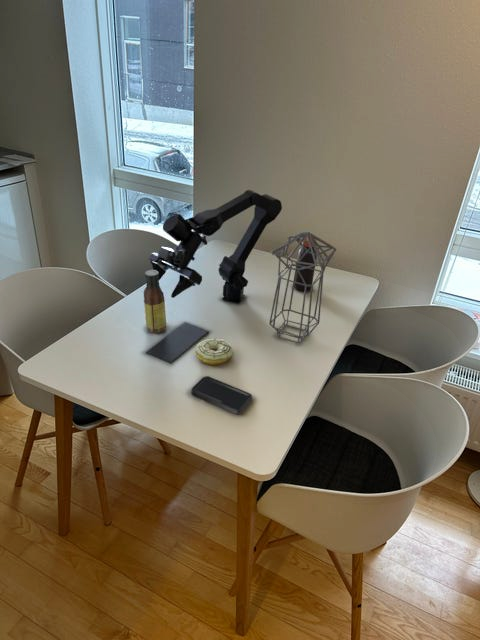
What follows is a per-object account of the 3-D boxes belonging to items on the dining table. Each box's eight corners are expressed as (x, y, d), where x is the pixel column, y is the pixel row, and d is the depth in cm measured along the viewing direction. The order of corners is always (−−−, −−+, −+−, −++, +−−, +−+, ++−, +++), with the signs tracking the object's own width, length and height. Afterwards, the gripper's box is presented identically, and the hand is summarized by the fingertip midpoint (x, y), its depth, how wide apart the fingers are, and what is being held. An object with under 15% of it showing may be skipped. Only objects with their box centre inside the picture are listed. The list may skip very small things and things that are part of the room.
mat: (185, 323, 155) (185, 322, 155) (208, 331, 151) (208, 330, 151) (145, 353, 140) (145, 351, 140) (170, 363, 136) (170, 362, 136)
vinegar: (314, 287, 182) (322, 238, 171) (306, 294, 177) (314, 244, 166) (298, 282, 185) (305, 233, 174) (290, 288, 180) (297, 239, 169)
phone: (205, 375, 131) (253, 394, 125) (205, 378, 132) (253, 398, 126) (189, 390, 125) (239, 412, 119) (189, 394, 126) (238, 415, 120)
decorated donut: (239, 356, 141) (240, 346, 139) (213, 372, 134) (214, 361, 132) (214, 341, 147) (215, 331, 145) (188, 355, 140) (189, 345, 138)
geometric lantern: (323, 331, 156) (341, 230, 137) (305, 355, 144) (323, 248, 125) (279, 317, 162) (291, 218, 143) (259, 339, 150) (269, 234, 131)
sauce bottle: (168, 324, 154) (167, 269, 143) (163, 335, 148) (162, 278, 138) (148, 322, 154) (145, 266, 143) (143, 332, 149) (139, 276, 138)
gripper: (152, 228, 146) (125, 271, 145) (196, 245, 137) (169, 292, 135) (170, 244, 156) (146, 285, 154) (213, 262, 146) (188, 306, 145)
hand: (161, 292), depth 147 cm, fingers open, 9 cm apart
